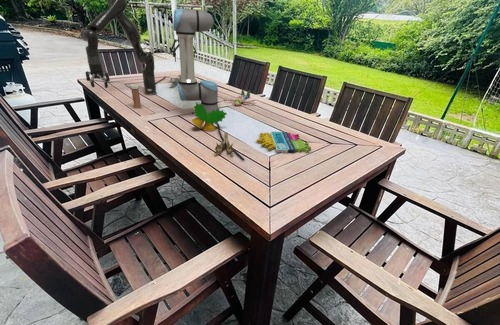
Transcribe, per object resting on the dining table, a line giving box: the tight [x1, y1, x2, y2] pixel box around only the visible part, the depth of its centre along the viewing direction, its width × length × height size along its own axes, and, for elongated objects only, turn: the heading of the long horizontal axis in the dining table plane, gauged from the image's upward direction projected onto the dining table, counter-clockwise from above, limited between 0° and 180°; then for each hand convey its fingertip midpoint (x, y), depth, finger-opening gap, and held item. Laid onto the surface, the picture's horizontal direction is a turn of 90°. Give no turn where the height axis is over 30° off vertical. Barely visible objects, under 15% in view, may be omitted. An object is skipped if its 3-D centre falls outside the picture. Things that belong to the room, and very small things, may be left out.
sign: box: [256, 131, 312, 154], centre depth 152 cm, size 26×2×30 cm
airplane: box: [165, 75, 181, 88], centre depth 260 cm, size 38×31×10 cm
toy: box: [223, 89, 257, 106], centre depth 219 cm, size 28×7×30 cm
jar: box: [130, 87, 142, 109], centre depth 188 cm, size 5×5×16 cm
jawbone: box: [214, 131, 234, 156], centre depth 136 cm, size 9×15×10 cm
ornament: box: [191, 101, 228, 132], centre depth 162 cm, size 21×8×15 cm, turn 105°
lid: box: [129, 83, 140, 90], centre depth 184 cm, size 6×6×2 cm
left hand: (100, 87), depth 182 cm, fingers open, 8 cm apart
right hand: (184, 61), depth 211 cm, fingers open, 13 cm apart
